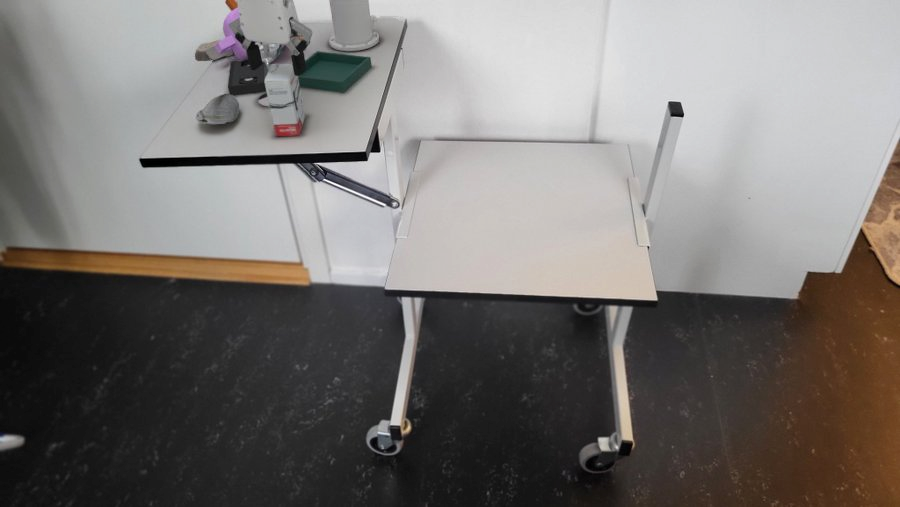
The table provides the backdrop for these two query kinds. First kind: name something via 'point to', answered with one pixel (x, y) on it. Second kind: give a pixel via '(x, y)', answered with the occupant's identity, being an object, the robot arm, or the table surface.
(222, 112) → the seashell
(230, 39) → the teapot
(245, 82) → the vhs tape
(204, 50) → the stone
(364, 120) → the table surface
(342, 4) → the robot arm
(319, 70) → the tray
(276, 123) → the ink box
